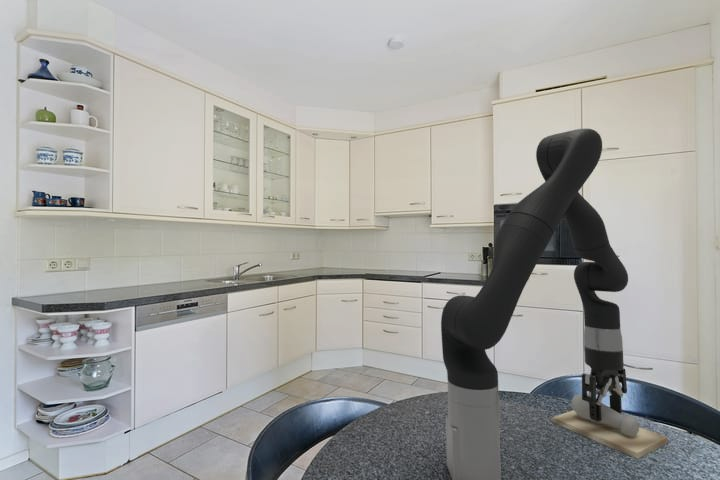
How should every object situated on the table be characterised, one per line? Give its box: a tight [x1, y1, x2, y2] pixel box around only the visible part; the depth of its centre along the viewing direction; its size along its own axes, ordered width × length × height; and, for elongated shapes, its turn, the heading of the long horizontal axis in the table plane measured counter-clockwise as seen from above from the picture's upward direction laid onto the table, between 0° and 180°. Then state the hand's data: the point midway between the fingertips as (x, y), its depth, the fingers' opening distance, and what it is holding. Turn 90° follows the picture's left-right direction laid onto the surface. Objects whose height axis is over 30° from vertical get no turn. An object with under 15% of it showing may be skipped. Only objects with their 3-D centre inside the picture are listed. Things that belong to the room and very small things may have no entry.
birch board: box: [552, 409, 669, 460], centre depth 81 cm, size 18×13×1 cm
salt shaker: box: [570, 394, 640, 437], centre depth 81 cm, size 6×6×13 cm
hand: (606, 416), depth 81 cm, fingers open, 8 cm apart
